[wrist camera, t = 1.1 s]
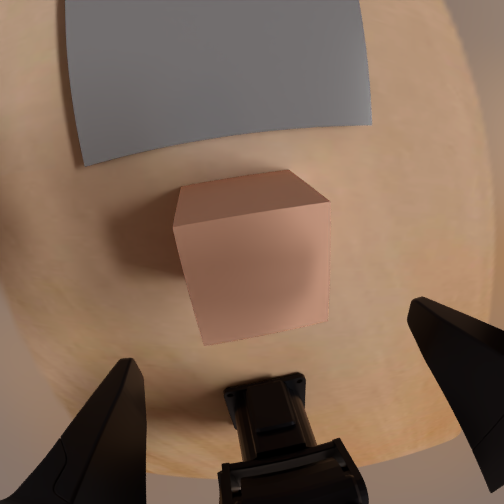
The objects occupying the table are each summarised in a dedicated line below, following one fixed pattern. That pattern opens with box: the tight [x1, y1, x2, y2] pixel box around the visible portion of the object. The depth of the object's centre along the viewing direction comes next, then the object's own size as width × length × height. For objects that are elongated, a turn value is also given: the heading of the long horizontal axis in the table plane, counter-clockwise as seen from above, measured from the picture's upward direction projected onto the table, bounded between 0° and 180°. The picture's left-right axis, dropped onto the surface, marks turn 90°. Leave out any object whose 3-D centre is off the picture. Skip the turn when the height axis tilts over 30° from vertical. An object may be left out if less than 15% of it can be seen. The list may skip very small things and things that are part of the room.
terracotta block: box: [173, 170, 331, 346], centre depth 14 cm, size 6×6×6 cm
